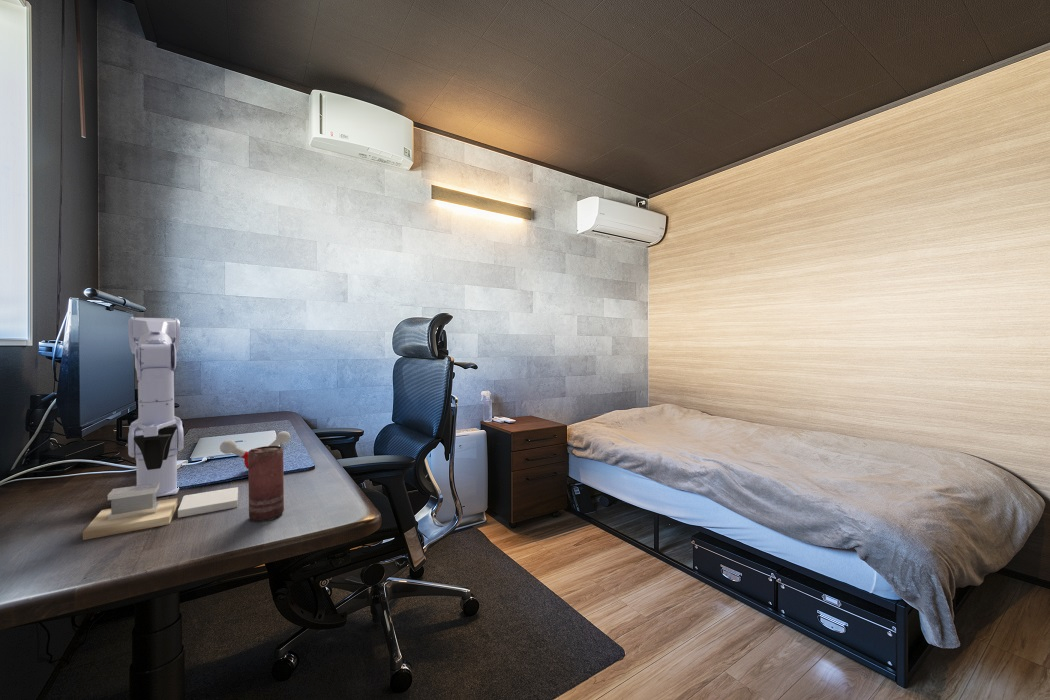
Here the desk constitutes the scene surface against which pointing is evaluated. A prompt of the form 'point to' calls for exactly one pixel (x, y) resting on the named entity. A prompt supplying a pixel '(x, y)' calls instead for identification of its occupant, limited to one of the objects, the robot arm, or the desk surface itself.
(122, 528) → the stand
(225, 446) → the molecular model
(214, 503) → the stand
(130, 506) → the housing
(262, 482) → the can
